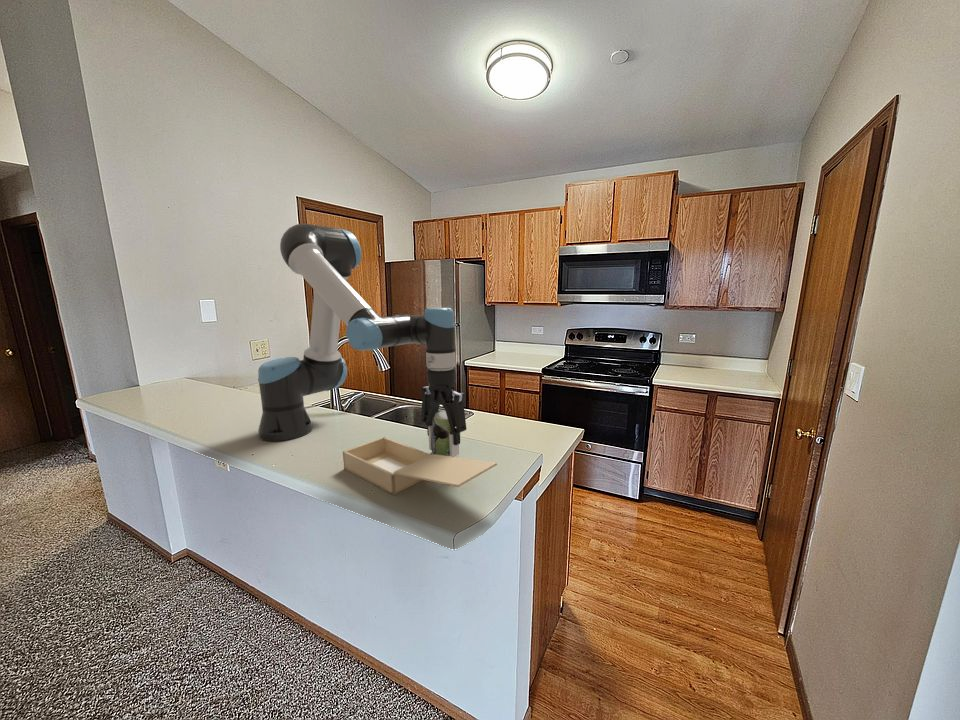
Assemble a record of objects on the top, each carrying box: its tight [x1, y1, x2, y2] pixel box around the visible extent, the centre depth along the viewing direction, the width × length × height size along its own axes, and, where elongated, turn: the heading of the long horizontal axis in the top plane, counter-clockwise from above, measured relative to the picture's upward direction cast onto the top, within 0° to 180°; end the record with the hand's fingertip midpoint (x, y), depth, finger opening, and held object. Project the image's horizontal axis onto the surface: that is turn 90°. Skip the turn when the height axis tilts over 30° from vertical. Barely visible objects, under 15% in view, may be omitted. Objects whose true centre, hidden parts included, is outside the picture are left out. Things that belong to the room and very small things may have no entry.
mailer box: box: [342, 436, 432, 496], centre depth 92 cm, size 20×12×5 cm, turn 50°
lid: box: [394, 453, 498, 488], centre depth 79 cm, size 19×12×1 cm, turn 50°
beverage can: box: [431, 410, 452, 456], centre depth 100 cm, size 6×7×12 cm
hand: (443, 451), depth 101 cm, fingers closed on beverage can, 7 cm apart
